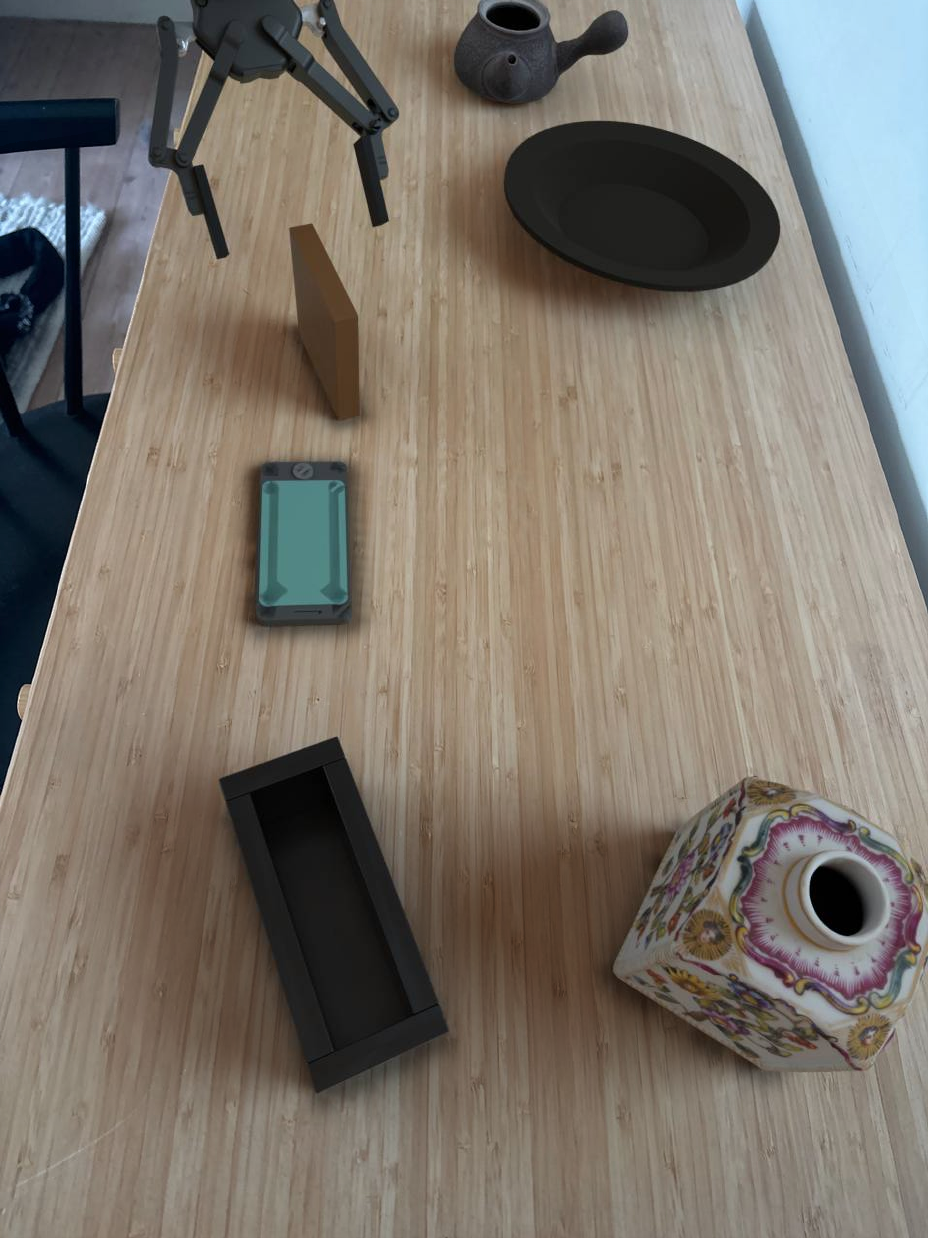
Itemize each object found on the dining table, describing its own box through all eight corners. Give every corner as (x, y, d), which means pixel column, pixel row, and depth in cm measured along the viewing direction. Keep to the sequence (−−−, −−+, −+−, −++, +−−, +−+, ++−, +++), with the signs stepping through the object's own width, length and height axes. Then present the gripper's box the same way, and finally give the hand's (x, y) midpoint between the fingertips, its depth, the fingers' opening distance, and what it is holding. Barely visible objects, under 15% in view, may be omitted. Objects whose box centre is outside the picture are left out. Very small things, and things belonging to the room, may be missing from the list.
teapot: (446, 120, 98) (454, 26, 89) (456, 42, 105) (464, -52, 96) (610, 143, 99) (634, 52, 90) (609, 64, 106) (631, -27, 97)
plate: (470, 285, 86) (476, 237, 81) (526, 144, 97) (534, 94, 92) (744, 361, 85) (767, 317, 80) (768, 210, 96) (790, 163, 91)
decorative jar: (676, 825, 62) (781, 741, 47) (825, 913, 60) (988, 857, 45) (603, 978, 57) (694, 942, 41) (764, 1080, 55) (924, 1083, 39)
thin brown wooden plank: (298, 333, 81) (288, 227, 71) (319, 328, 81) (312, 222, 71) (338, 420, 76) (333, 321, 66) (359, 415, 77) (358, 315, 67)
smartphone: (347, 459, 73) (351, 616, 66) (347, 469, 74) (351, 624, 67) (257, 460, 72) (252, 619, 65) (259, 469, 73) (254, 626, 66)
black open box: (237, 817, 60) (217, 778, 52) (341, 778, 62) (337, 735, 54) (323, 1091, 53) (316, 1094, 45) (437, 1037, 54) (449, 1031, 47)
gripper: (369, -60, 71) (428, 218, 78) (54, -25, 64) (151, 275, 72) (395, -105, 64) (456, 204, 72) (46, -70, 58) (153, 266, 65)
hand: (304, 240), depth 72 cm, fingers open, 13 cm apart
